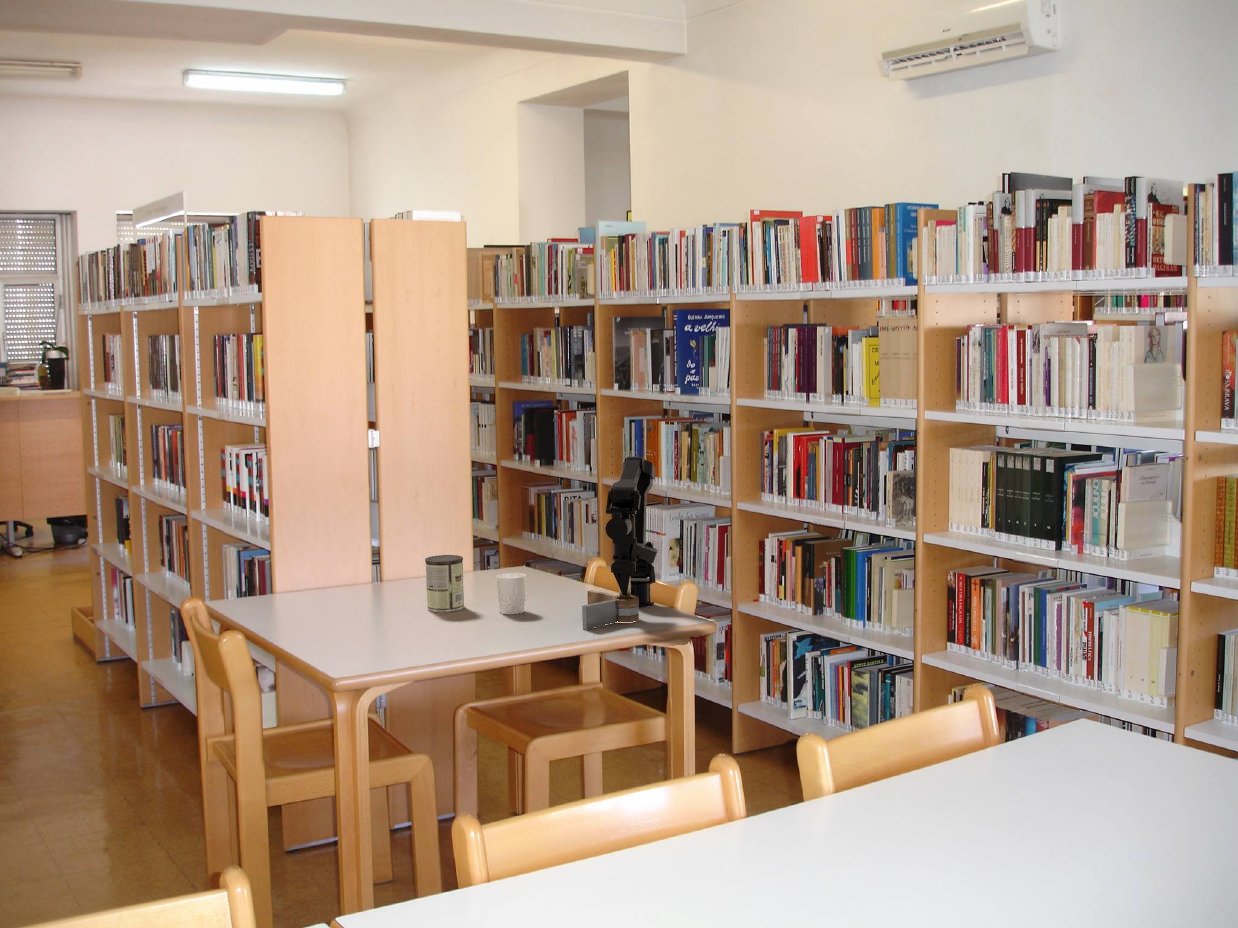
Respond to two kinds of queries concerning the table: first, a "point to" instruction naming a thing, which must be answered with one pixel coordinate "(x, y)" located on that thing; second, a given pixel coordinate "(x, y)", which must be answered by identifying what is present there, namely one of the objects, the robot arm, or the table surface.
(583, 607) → the slate leaf
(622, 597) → the brass pin
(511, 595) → the white cup
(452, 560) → the coffee can
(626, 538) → the robot arm
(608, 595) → the tan hinge leaf
